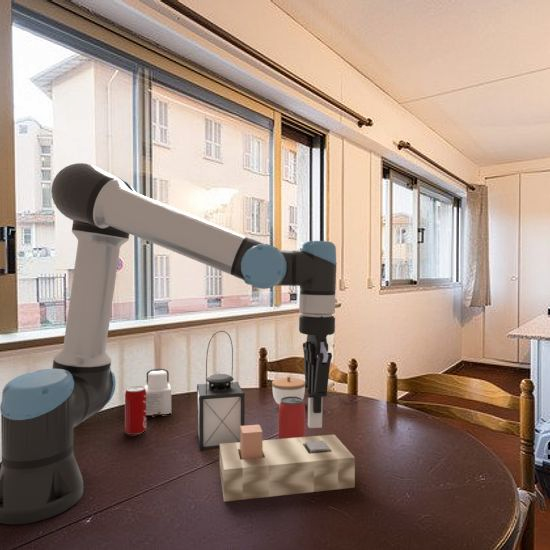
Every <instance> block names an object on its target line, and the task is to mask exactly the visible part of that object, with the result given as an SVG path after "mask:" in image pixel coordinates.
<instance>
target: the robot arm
mask: <svg viewBox="0 0 550 550" xmlns="http://www.w3.org/2000/svg"><path fill="white" fill-rule="evenodd" d="M52 181H53V182H52V184H51V191H50V192H51V198H52V201H53V203H54V206H55V207H56V209H57V210H58V211H59V212H60V214H62V215H63V216H64V217H65V218H68V219H69V220H71V221H72V226H71V233H72V234H73V235H74V236H75V238H76V239H77V245H76V246H77V248H76V255H75V262H74V267H73V268H74V269H73V275H72V282H71V283H72V284H71V289H70V296H69V297H70V298H69V302H68V303H69V304H68V310H67V311H68V312H67V319H66V324H65V332H64V339H63V347H62V350H61V351H59V352H58V353H57V354H55V355H54V357H53V360H52V367H51V368H45V369H38V370H35V371H34V372H33V371H32V372H26V373H23V374H21V375H17V376H16V377H14V378H13V379H11V380H9V381H8V382H7V383H6V385H4V387H3V389H2V392H1V402H0V413H1V419H0V420H1V467H0V524H3V525H25V524H32V523H35V522H37V523H38V522H41V521H44V520H47V519H50V518H53V517H55V516H57V515H59V514H62V513H64V512H65V511H67V510H69V509H71V508H72V507H74V505H76V504H77V503H78V502H79V501H80V500H81V499H82V496H83V495H84V480H83V479H84V478H83V476H82V473H81V470H80V467H79V465H78V463H77V460H76V457H75V454H74V428H75V427H77V426H79V425H80V424H81V423H83V422H85V421H86V420H87V419H89V418H90V417H92V416H94V415H96V414H98V413H99V412H101V411H102V410H103V409H104V408H105V407H106V405H107V404H108V403H110V401H111V400H112V398H113V396H114V394H115V390H116V383H117V382H116V376H115V373H114V372H113V371H112V368H111V367H112V366H111V365H112V358H111V357H110V356H109V354H108V353H107V352H106V350H107V349H106V348H107V344H108V343H107V342H108V336H109V334H108V333H109V327H110V321H111V314H112V307H113V300H114V293H115V287H116V286H115V285H116V280H117V272H118V271H117V270H118V267H119V266H118V265H119V257H120V252H121V251H120V250H121V247H122V246H123V245H124V244H125V243H127V242H128V241H130V240H129V238H130V235H131V236H134V237H137V238H140V239H142V240H144V241H146V242H149V243H151V244H154V245H157V246H158V247H161V248H163V249H166V250H169V251H171V252H174V253H176V254H179V255H182V257H183V256H184V257H186V258H189V259H192V260H194V261H195V262H198V263H201V264H203V265H206V266H208V267H210V268H214V269H216V270H218V271H221V272H223V273H226V274H229V275H231V276H233V277H234V278H237V279H239V280H242V281H243V282H244V283H245V284H246V285H248V286H249V285H250V286H252V287H256V288H258V289H265V290H267V289H270V288H271V289H272V288H273V287H281V286H284V287H285V286H286V287H287V286H288V287H291V286H292V287H299V298H298V299H299V304H298V307H299V308H298V312H299V313H300V316H299V318H298V319H299V320H298V321H299V322H298V331H299V333H300V334H303V335H306V341H305V342H303V343H302V350H303V359H304V360H303V361H304V362H303V365H304V367H303V368H304V381H305V390H306V389H307V390H306V391H307V427H308V428H309V429H317V428H318V429H319V428H323V402H324V401H323V400H324V399H323V398H324V397H327V395H328V385H329V375H330V368H331V362H332V357H333V354H332V352H329V344H328V339H327V336H330V335H332V336H333V335H334V333H335V332H336V318H335V316H334V314H335V313H336V304H337V303H338V299H336V291H337V290H336V289H337V286H336V285H337V247H336V244H335V243H333V242H332V241H327V240H307V241H306V240H305V241H302V242H301V244H300V248H299V249H298V250H284V249H283V250H281V249H279V248H277V247H275V246H273V245H271V244H267V243H262V242H260V241H258V240H256V239H252V238H249V237H247V236H246V235H243V234H240V233H238V232H235V231H233V230H231V229H228V228H225V227H223V226H220V225H217V224H215V223H213V222H210V221H208V220H206V219H203V218H200V217H198V216H195V215H192V214H190V213H188V212H186V211H182V210H180V209H177V208H175V207H173V206H170V205H168V204H165V203H162V202H160V201H158V200H155V199H153V198H150V197H148V196H145V195H143V194H140V193H138V192H136V190H135V189H134V188H133V187H132V185H130V184H129V183H128V182H127V181H126V180H124V179H122V178H120V177H118V176H115V175H113V174H111V173H110V172H107V171H106V170H104V169H101V168H100V167H98V166H95V165H93V164H88V163H83V162H81V163H73V164H69V165H66V166H64V167H63V168H62V169H61V170H60V171H58V173H57V174H56V175H55V177H54V179H53V180H52Z"/></svg>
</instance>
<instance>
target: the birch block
mask: <svg viewBox="0 0 550 550" xmlns="http://www.w3.org/2000/svg"><path fill="white" fill-rule="evenodd" d="M312 441H324V442H325V444H326V445H327V446H328V447H329V452H321V453H310V454H309V453H308V452H307V450H306V448H305V442H312ZM355 465H356V457H355V456H354V455H353V454H352V452H350V450H349V449H348V448H347V447H346V445H344V444H343V443H342V441H341V440H340V439H339V438H338V437H337V436H336V434H324V435H312V436H311V435H310V436H305V437H297V438H285V439H279V438H276V439H274V438H273V439H264V440H263V458H254V459H241V456H240V442H235V443H223V444H220V449H219V477H220V484H221V490H222V497H223V502H233V501H241V500H251V499H252V500H253V499H260V498H271V497H278V496H288V495H289V496H290V495H296V494H307V493H316V492H324V491H326V492H327V491H333V490H343V489H344V490H345V489H354V488H355V487H356V485H355V483H356V481H355V480H356V475H355V474H356V469H355V468H356V466H355Z"/></svg>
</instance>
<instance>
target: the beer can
mask: <svg viewBox="0 0 550 550" xmlns="http://www.w3.org/2000/svg"><path fill="white" fill-rule="evenodd" d="M297 437H306V406H305V403H304V398H303V399H302V398H300V397H294V396H289V397H284V398H282V399H281V402H280V405H279V406H278V439H285V438H297Z"/></svg>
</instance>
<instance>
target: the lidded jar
mask: <svg viewBox="0 0 550 550" xmlns="http://www.w3.org/2000/svg"><path fill="white" fill-rule="evenodd" d="M271 384H272V385H271V386H272V387H271V388H272V396H273V400H274V401H275V402H276V404H277V405H280V402H281V399H282V398H284V397H289V396H294V397H300V398H302V399H303V400H304V398H305V394H306V393H305V392H306V391H305V390H306V388H305V380H304V379H301V378H298V377H297V378H295V377H291V376H287V377H281V378H276V379H273V380H272V381H271Z"/></svg>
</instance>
